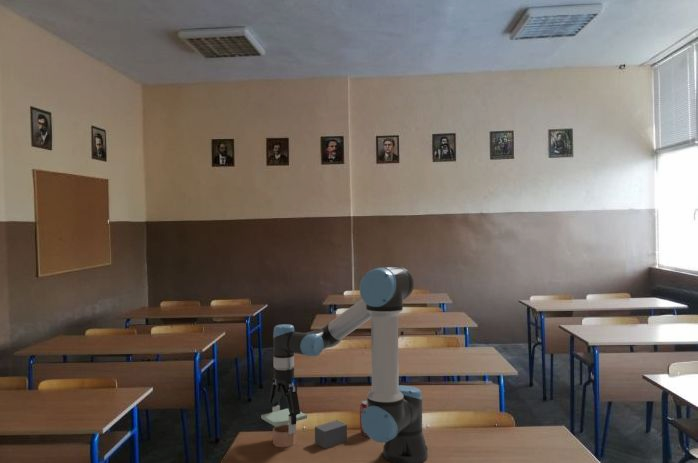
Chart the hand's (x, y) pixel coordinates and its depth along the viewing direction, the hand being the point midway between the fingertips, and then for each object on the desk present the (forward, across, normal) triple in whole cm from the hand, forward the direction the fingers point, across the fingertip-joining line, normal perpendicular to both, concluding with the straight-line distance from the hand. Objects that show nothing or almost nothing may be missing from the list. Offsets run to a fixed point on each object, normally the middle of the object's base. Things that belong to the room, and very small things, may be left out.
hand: (284, 428), depth 181 cm
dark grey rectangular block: (+5, -11, -13) cm, 18 cm away
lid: (-4, 0, 0) cm, 4 cm away
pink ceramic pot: (+5, 0, 0) cm, 5 cm away
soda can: (+5, -14, -29) cm, 33 cm away
